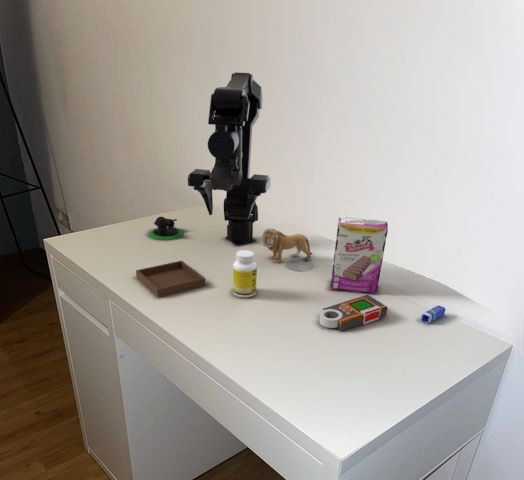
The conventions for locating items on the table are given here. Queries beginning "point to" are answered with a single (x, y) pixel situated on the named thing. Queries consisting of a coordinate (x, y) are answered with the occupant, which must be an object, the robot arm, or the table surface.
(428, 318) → the eraser
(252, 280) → the supplement bottle
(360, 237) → the candy bar box
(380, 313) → the electronic device
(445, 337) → the table surface
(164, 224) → the toy figurine
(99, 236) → the table surface
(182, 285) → the tray
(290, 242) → the lion figurine
